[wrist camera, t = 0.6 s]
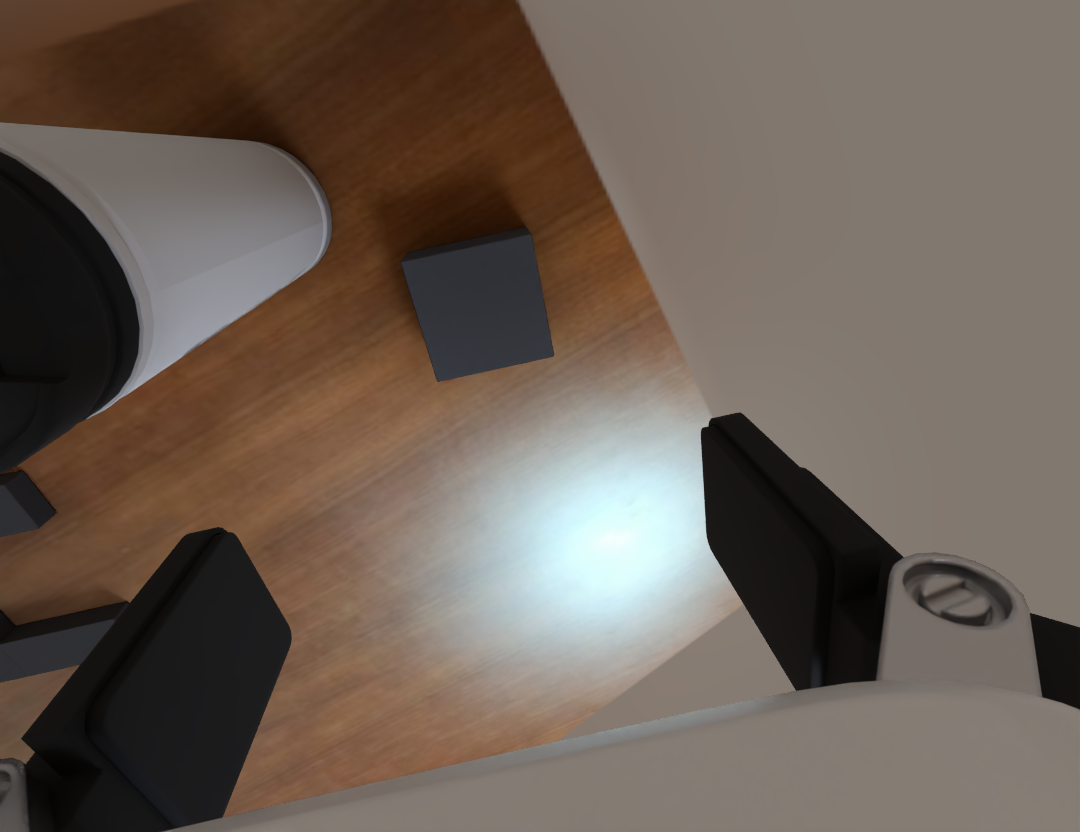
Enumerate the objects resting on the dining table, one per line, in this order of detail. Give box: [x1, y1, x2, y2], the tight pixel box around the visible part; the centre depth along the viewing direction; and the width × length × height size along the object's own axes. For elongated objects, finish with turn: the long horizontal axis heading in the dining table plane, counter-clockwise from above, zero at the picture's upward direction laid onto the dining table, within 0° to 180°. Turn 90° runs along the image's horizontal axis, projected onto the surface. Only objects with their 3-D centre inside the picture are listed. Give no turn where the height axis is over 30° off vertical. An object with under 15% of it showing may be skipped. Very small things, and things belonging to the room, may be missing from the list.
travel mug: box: [0, 123, 332, 474], centre depth 16 cm, size 6×7×20 cm
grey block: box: [401, 227, 554, 382], centre depth 27 cm, size 6×6×3 cm
